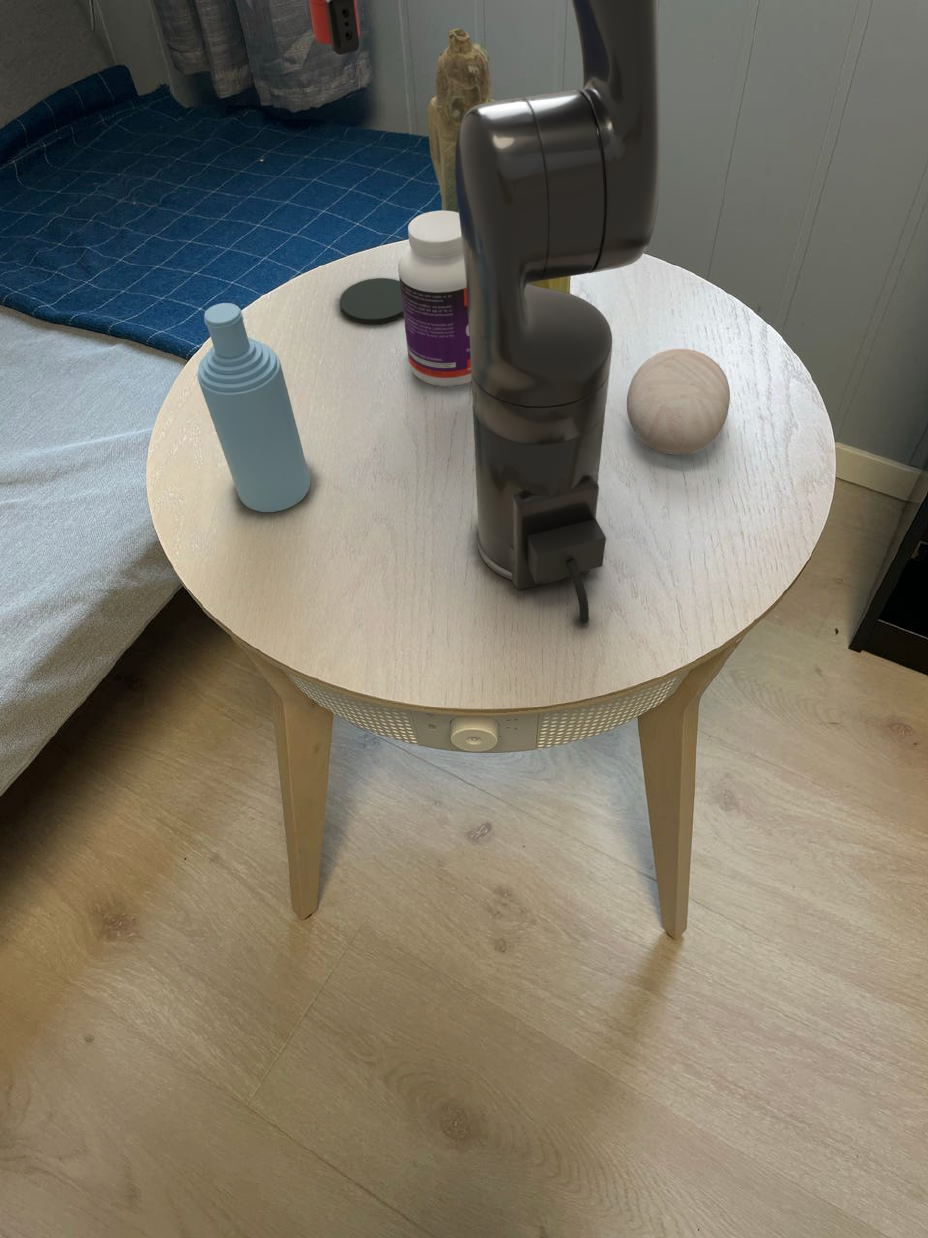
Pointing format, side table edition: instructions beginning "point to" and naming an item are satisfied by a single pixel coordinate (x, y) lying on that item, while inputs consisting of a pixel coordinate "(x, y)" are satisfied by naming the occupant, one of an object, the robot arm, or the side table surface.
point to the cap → (324, 20)
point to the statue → (455, 105)
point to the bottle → (252, 414)
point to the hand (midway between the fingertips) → (336, 41)
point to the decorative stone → (678, 401)
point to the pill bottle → (436, 300)
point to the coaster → (373, 301)
